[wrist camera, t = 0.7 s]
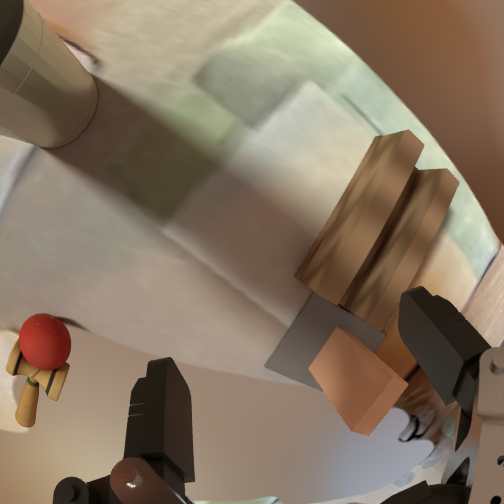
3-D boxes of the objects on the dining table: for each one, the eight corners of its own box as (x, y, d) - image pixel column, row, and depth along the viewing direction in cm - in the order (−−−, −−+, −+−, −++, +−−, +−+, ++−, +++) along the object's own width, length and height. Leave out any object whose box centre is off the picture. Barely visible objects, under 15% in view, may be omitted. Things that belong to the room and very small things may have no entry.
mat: (340, 396, 38) (341, 398, 37) (264, 365, 35) (264, 367, 35) (385, 333, 37) (386, 334, 37) (313, 291, 34) (314, 292, 34)
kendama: (61, 423, 33) (94, 333, 30) (38, 450, 27) (63, 361, 24) (19, 388, 33) (42, 291, 30) (-6, 411, 27) (5, 310, 23)
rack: (355, 312, 36) (382, 332, 30) (294, 275, 34) (314, 292, 28) (426, 183, 35) (460, 183, 29) (375, 136, 33) (407, 128, 27)
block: (323, 374, 36) (368, 435, 24) (308, 368, 36) (351, 430, 24) (351, 333, 36) (408, 384, 24) (337, 325, 35) (392, 377, 24)
